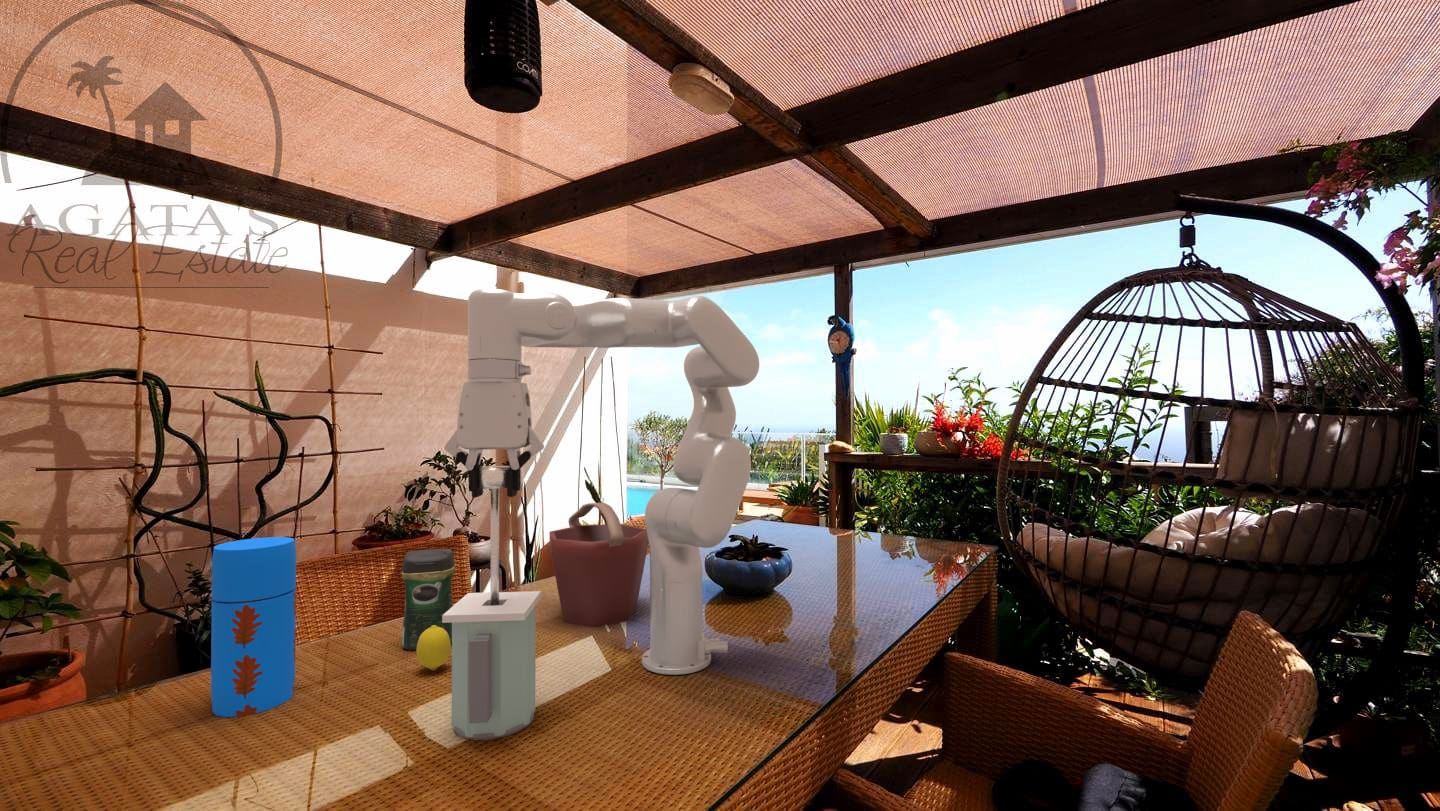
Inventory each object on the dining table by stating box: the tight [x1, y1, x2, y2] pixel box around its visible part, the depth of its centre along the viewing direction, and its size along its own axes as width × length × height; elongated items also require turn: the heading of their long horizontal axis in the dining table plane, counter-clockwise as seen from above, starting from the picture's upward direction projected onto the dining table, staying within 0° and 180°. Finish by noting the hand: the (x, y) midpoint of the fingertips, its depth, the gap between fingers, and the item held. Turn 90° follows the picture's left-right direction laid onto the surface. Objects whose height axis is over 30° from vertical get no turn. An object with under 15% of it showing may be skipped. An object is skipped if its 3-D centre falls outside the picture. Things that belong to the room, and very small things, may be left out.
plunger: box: [479, 465, 510, 606], centre depth 94 cm, size 8×8×24 cm
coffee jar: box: [401, 548, 456, 650], centre depth 126 cm, size 10×8×19 cm
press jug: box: [442, 590, 542, 741], centre depth 93 cm, size 14×11×17 cm
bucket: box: [549, 502, 649, 628], centre depth 144 cm, size 24×22×25 cm
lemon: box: [415, 625, 452, 672], centre depth 112 cm, size 6×6×8 cm
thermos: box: [210, 536, 297, 718], centre depth 101 cm, size 11×11×25 cm
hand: (494, 494), depth 94 cm, fingers closed on plunger, 4 cm apart
